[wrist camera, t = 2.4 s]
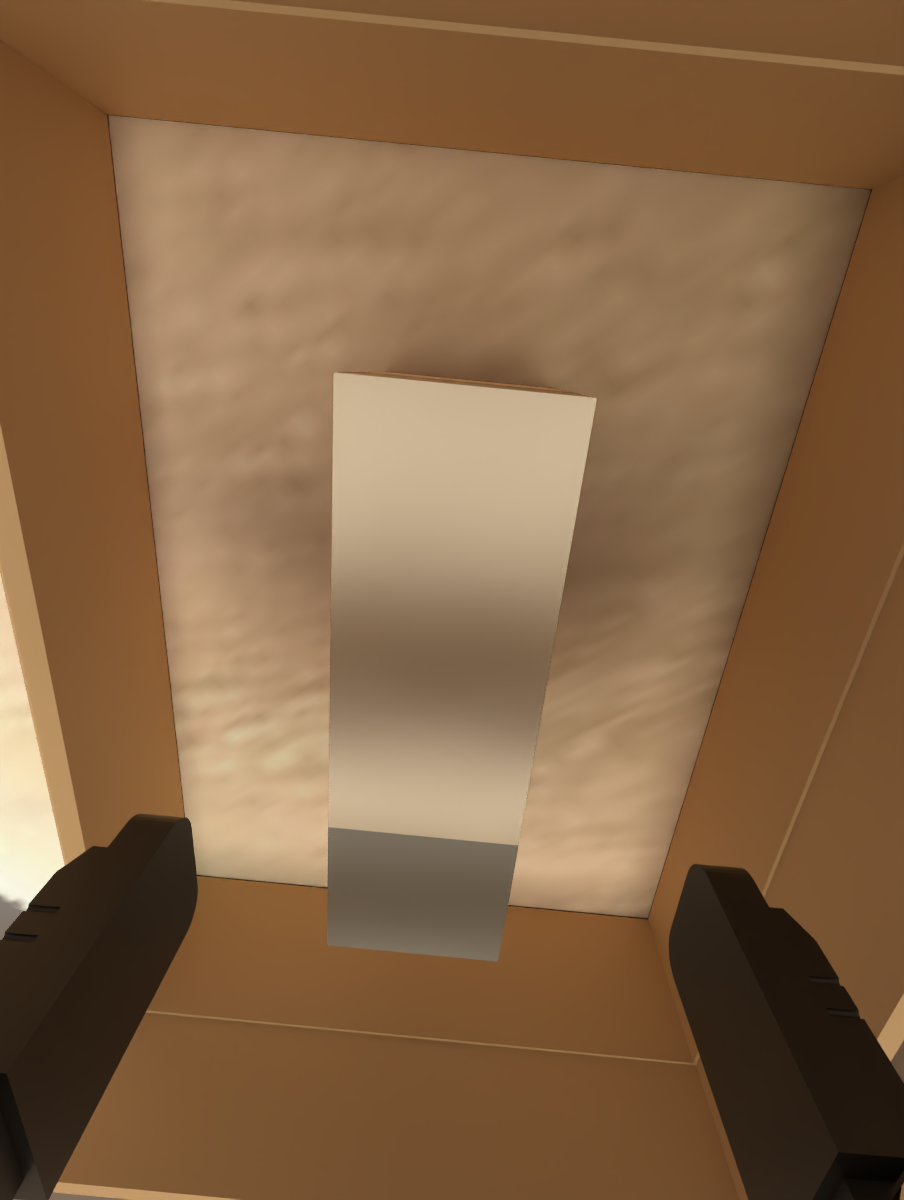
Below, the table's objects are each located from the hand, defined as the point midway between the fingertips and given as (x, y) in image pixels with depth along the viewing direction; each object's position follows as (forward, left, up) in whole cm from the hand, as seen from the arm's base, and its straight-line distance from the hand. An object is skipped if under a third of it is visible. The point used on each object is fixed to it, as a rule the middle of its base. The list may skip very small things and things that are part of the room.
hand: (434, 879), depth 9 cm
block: (0, 0, -10) cm, 10 cm away
